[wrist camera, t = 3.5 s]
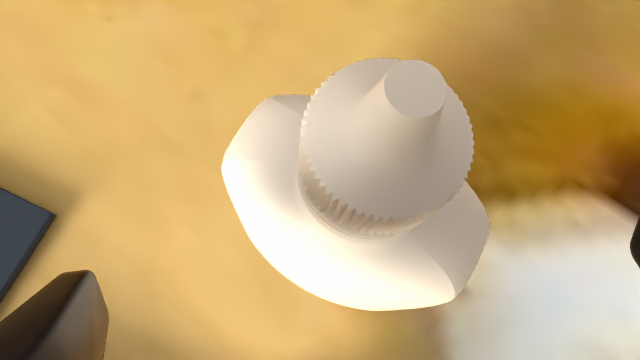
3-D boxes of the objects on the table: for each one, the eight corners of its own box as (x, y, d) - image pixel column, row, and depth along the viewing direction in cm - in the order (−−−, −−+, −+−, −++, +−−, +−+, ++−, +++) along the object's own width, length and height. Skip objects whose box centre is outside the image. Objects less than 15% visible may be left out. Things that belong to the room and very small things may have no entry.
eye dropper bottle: (315, 353, 16) (390, 450, 4) (232, 208, 17) (115, -25, 5) (423, 283, 17) (731, 207, 5) (338, 148, 18) (432, -162, 6)
